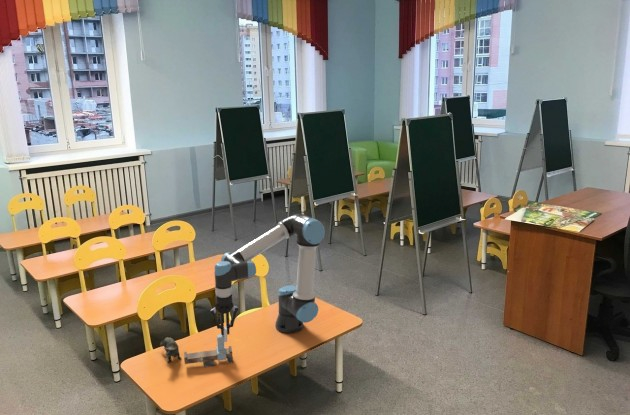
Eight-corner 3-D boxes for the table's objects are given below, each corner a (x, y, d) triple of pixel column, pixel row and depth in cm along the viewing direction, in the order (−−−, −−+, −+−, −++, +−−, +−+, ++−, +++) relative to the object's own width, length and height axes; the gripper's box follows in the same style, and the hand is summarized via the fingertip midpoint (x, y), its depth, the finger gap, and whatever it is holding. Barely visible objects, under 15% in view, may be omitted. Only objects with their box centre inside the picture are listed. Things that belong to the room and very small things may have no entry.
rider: (224, 351, 242) (223, 331, 239) (226, 359, 235) (225, 339, 232) (216, 352, 241) (215, 332, 238) (217, 360, 234) (216, 340, 231)
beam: (231, 357, 243) (231, 345, 241) (233, 363, 238) (232, 351, 236) (184, 364, 237) (184, 351, 235) (185, 370, 232) (184, 357, 231)
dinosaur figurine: (160, 348, 250) (158, 328, 248) (177, 345, 254) (175, 325, 251) (165, 371, 231) (164, 349, 228) (184, 367, 234) (182, 346, 231)
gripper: (237, 289, 236) (238, 335, 242) (208, 292, 233) (211, 338, 238) (239, 296, 229) (240, 342, 235) (210, 299, 226) (212, 346, 231)
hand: (225, 340), depth 237 cm, fingers closed
